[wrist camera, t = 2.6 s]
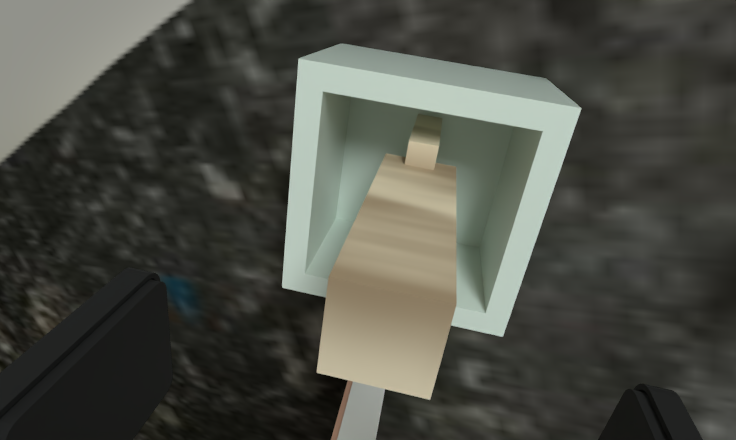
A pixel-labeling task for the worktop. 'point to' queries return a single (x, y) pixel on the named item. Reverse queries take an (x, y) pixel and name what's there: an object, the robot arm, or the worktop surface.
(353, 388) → the tile
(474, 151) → the holder
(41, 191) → the worktop surface
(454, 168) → the wooden block with tab
